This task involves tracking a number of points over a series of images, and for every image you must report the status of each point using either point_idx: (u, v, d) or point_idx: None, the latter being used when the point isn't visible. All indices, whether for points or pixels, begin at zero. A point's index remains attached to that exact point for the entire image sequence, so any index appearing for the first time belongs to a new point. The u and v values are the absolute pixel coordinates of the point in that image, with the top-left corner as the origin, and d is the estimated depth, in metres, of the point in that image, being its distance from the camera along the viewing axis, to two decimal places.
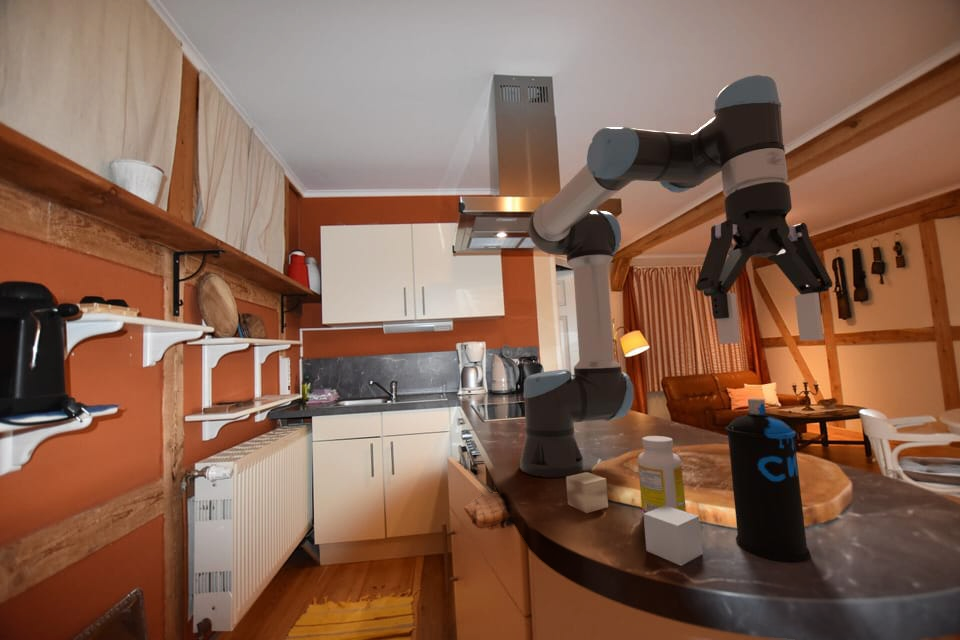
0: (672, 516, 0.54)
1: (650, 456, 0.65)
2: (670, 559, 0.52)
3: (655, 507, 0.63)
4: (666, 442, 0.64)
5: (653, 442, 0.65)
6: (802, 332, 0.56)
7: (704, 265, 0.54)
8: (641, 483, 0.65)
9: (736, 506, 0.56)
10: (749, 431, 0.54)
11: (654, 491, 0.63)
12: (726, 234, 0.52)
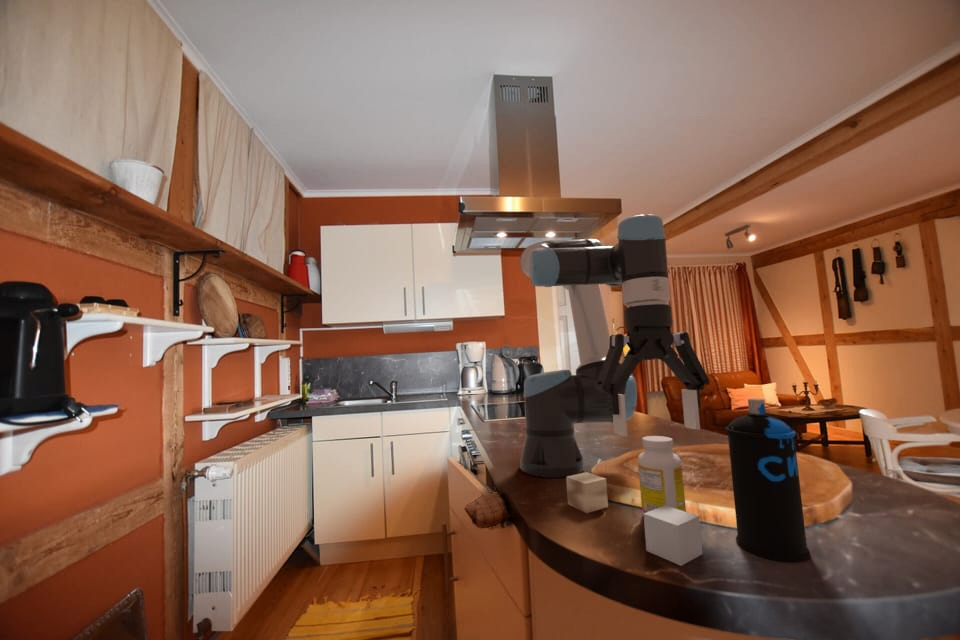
0: (672, 516, 0.54)
1: (650, 456, 0.65)
2: (670, 559, 0.52)
3: (655, 507, 0.63)
4: (666, 442, 0.64)
5: (653, 442, 0.65)
6: (686, 420, 0.69)
7: (602, 369, 0.66)
8: (641, 483, 0.65)
9: (736, 506, 0.56)
10: (749, 431, 0.54)
11: (654, 491, 0.63)
12: (618, 346, 0.65)
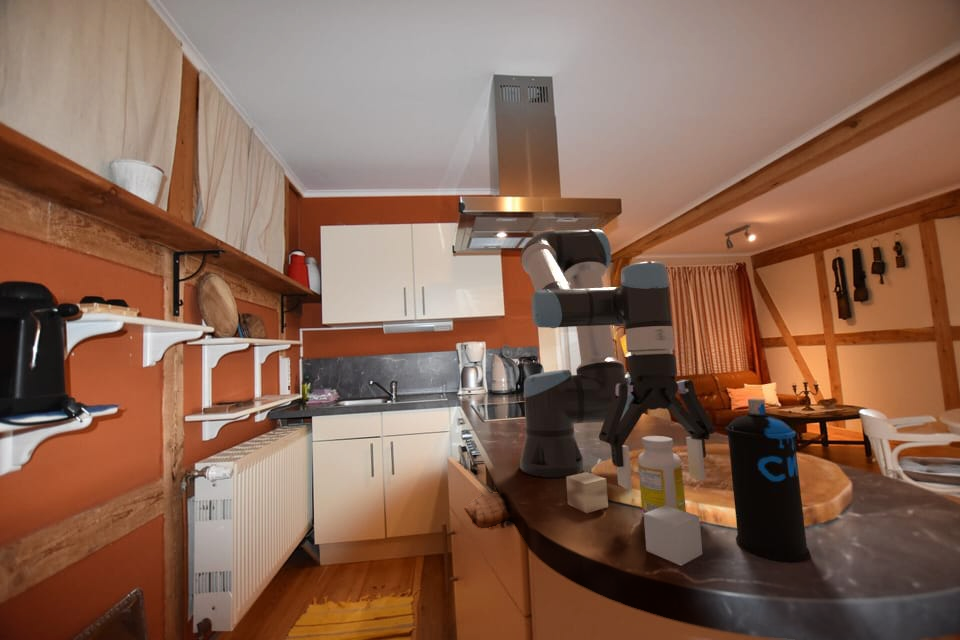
0: (672, 516, 0.54)
1: (650, 456, 0.65)
2: (670, 559, 0.52)
3: (655, 507, 0.63)
4: (666, 442, 0.64)
5: (653, 442, 0.65)
6: (691, 469, 0.68)
7: (606, 419, 0.65)
8: (641, 483, 0.65)
9: (736, 506, 0.56)
10: (749, 431, 0.54)
11: (654, 491, 0.63)
12: (622, 396, 0.64)
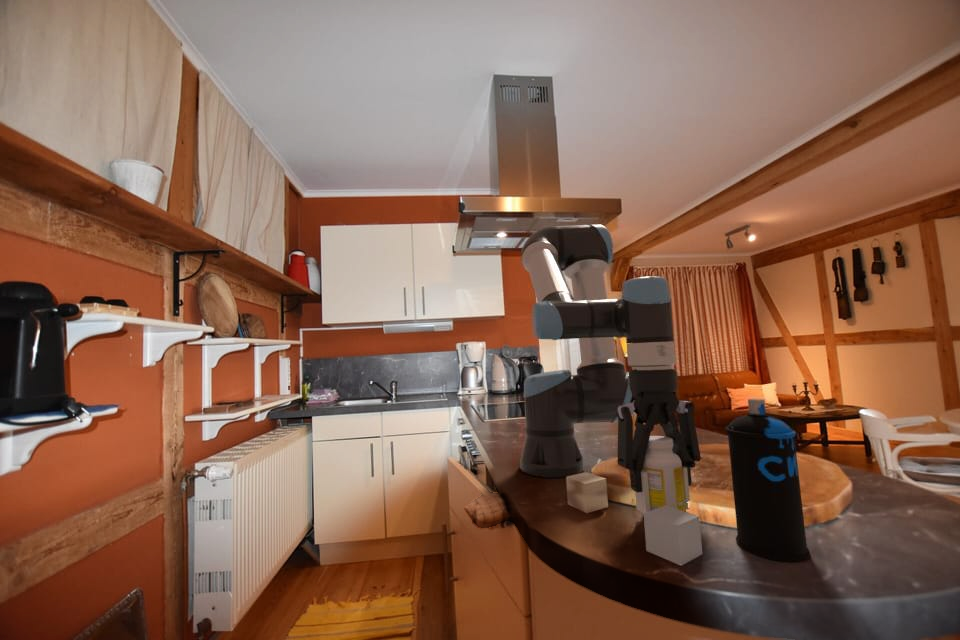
0: (672, 516, 0.54)
1: (650, 456, 0.65)
2: (670, 559, 0.52)
3: (655, 507, 0.63)
4: (666, 442, 0.64)
5: (653, 442, 0.65)
6: None
7: (618, 444, 0.66)
8: None
9: (736, 506, 0.56)
10: (749, 431, 0.54)
11: (654, 491, 0.63)
12: (626, 420, 0.64)
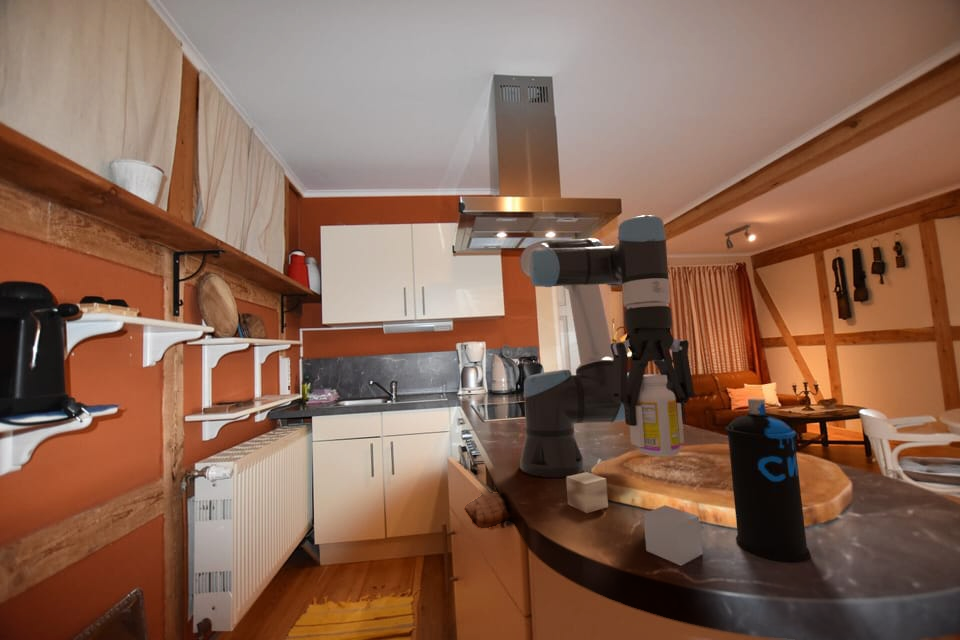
0: (672, 516, 0.54)
1: (644, 391, 0.66)
2: (670, 559, 0.52)
3: (649, 439, 0.64)
4: (660, 377, 0.65)
5: (648, 377, 0.66)
6: None
7: (614, 380, 0.67)
8: None
9: (736, 506, 0.56)
10: (749, 431, 0.54)
11: (648, 424, 0.64)
12: (621, 355, 0.65)
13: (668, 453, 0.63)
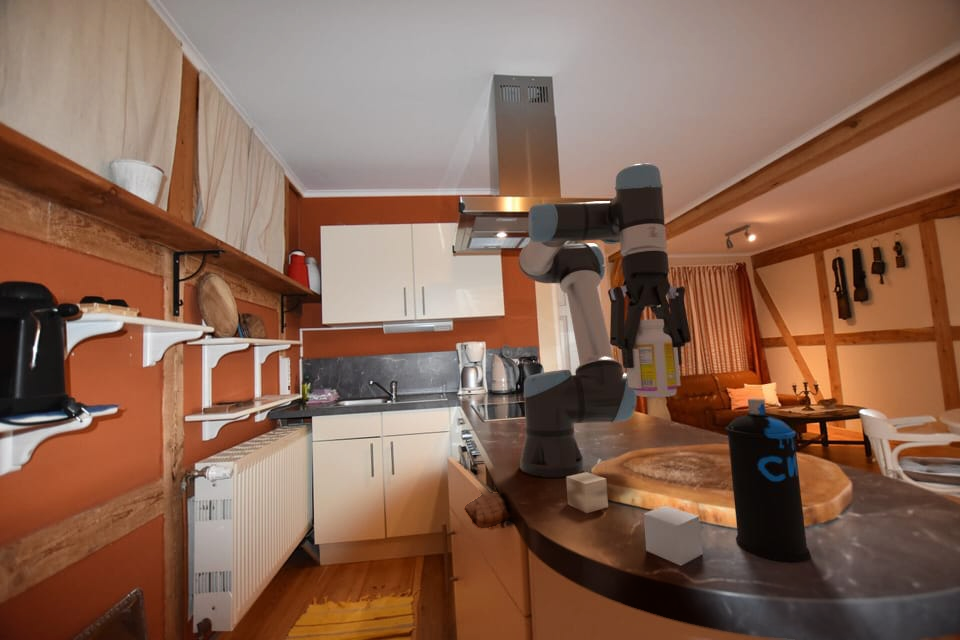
0: (672, 516, 0.54)
1: (641, 334, 0.67)
2: (670, 559, 0.52)
3: (646, 380, 0.65)
4: (657, 320, 0.66)
5: (644, 321, 0.67)
6: None
7: (611, 325, 0.68)
8: None
9: (736, 506, 0.56)
10: (749, 431, 0.54)
11: (645, 365, 0.66)
12: (619, 299, 0.67)
13: (664, 393, 0.64)
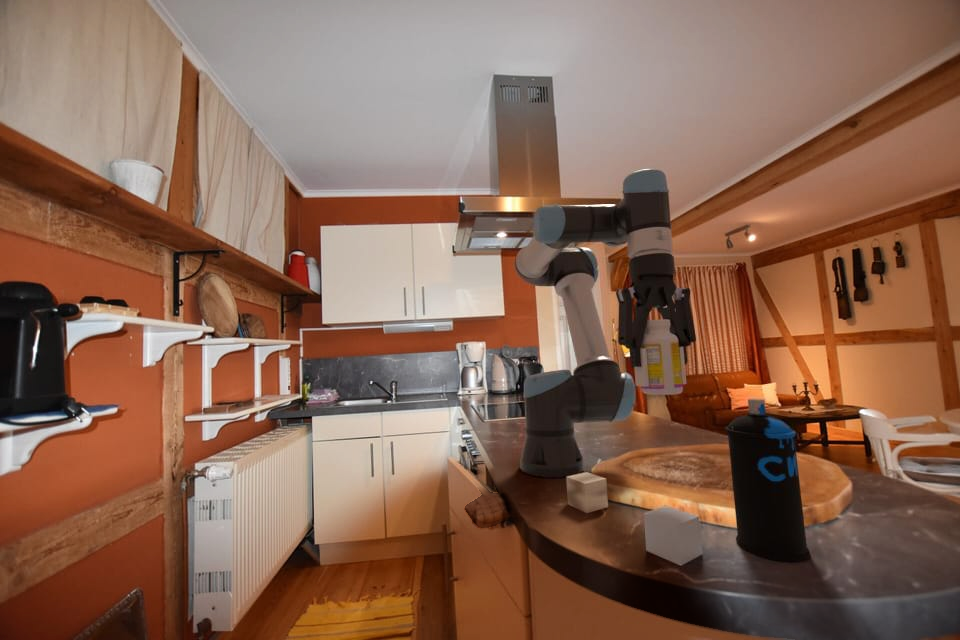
0: (672, 516, 0.54)
1: (648, 334, 0.69)
2: (670, 559, 0.52)
3: (653, 379, 0.67)
4: (664, 320, 0.69)
5: (652, 321, 0.69)
6: None
7: (619, 325, 0.70)
8: None
9: (736, 506, 0.56)
10: (749, 431, 0.54)
11: (652, 364, 0.68)
12: (627, 300, 0.69)
13: (671, 391, 0.66)
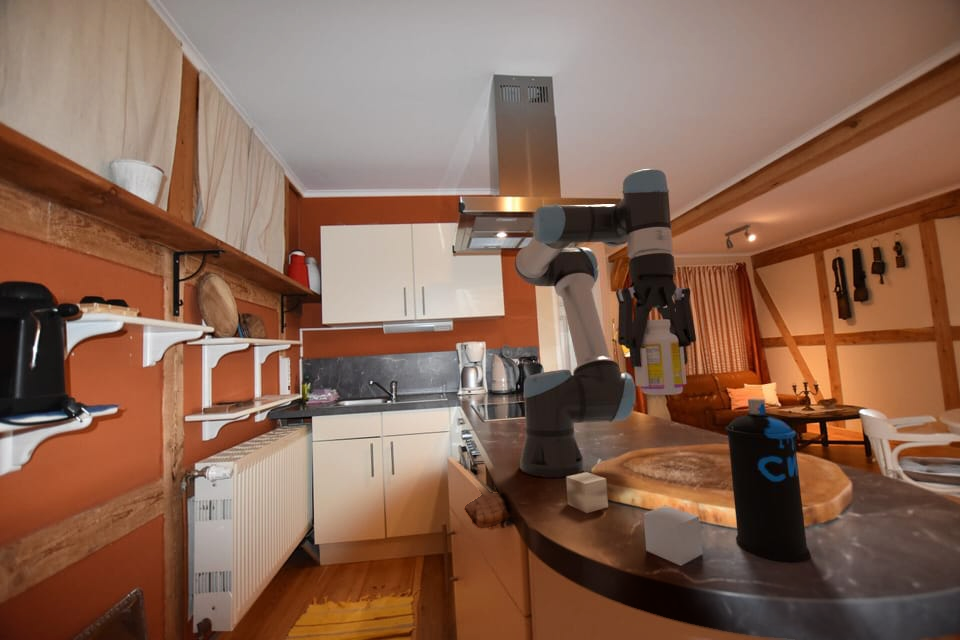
0: (672, 516, 0.54)
1: (648, 334, 0.69)
2: (670, 559, 0.52)
3: (653, 379, 0.67)
4: (664, 320, 0.69)
5: (652, 321, 0.69)
6: None
7: (619, 325, 0.70)
8: None
9: (736, 506, 0.56)
10: (749, 431, 0.54)
11: (652, 364, 0.68)
12: (627, 300, 0.69)
13: (671, 391, 0.66)
